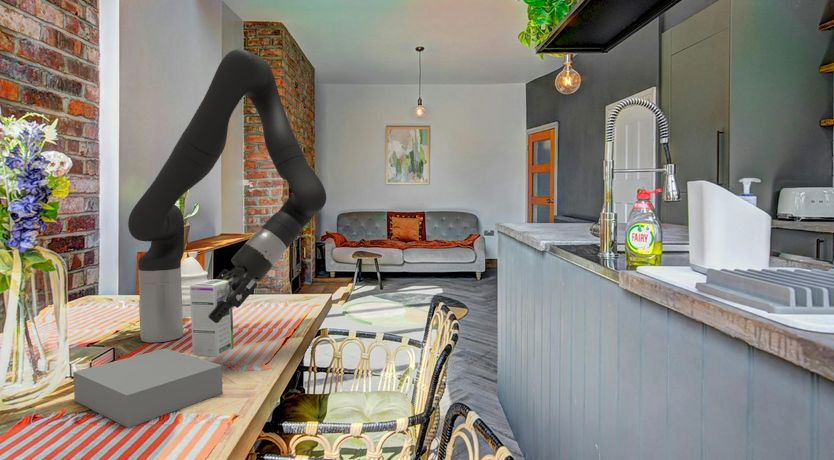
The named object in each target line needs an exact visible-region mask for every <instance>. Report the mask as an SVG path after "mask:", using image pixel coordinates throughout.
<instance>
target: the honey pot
mask: <svg viewBox="0 0 834 460" xmlns="http://www.w3.org/2000/svg"><path fill="white" fill-rule="evenodd" d="M187 254H188V256H189V257H186V258H185V259H184V260H183V261H181V286H182V315H183V318H191V302H190V285H192V284H196V283H199V282H203V281H206V280H209V279H208V277H207V276H208V274H209V272H208V271H206V270H204V269H203V267H202V265H201V264H200V262H199V261H198V260H197V259H196V257H197V256H198V251H188V253H187Z"/></svg>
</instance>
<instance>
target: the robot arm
mask: <svg viewBox="0 0 834 460" xmlns="http://www.w3.org/2000/svg"><path fill="white" fill-rule="evenodd" d="M245 96H247V98H249V99H248V100H250V101H251V103H252V104H253V106H254V108H255V109H256V112H257V113H258V116H259V118H260V122H261V125H262V131H263V139H264V144H265V148H266V149H267V152H268V155H269V157H270V159H271V161H272V163H273V166H274V168H275V170H276V171H277V174H278V175H279V177H280V179H282V180H285V181H286V182H287V184H288V186H289V188H290V190H291V192H292V194H291V195H290V196H289V198H288V199H287V200H286V201H285V203H283V205H282V206H281V208H279V210H278V211H277V212H275V213H274V214H273V215H272V216H270V217H269V219H267V220H266V222H265V223H264V224H263V225H262V226H261V228H259V229H258V230H257V231H256V232H254V234H253V235H252V236H250V238H249V239H248V240H247V241H246V242H245V243H244V244H243V245H242V246H241V248H240V249H239V250H238V251H237V252H236V253H235V255H233V257H231V259H230V260H231V263H232V265H233V266H234V267H233V268H232V269H231V270H228V269H226V268H224V269H223V270H222V271H220V273H219V274H218V275H217V276H216V277H215V278H214V279H221V280H228V281H229V282H228V284H227V286H226V288H225V290H224V292H225V296H224V298H223V300H222V301H223V302H220V303H219V304H218V305H217V306H216V308H215V309H214V310H213V311H212V312H211V313H210V314H209V316H208V317H209V318H210V319H211V320H212V321H213V322H215V323H218V322H219V321H220V320H221V319H222V318H223V316H224V315H225V314H226V313H227V312H228V311H229V310H230V308H231V309H232V310H233V309H234V308H240V307H241V305H242V304H244V302H245V301H246V300H247V299H248V297H249V296H250V295H251V294H252V293H253V291H254V290H255V289H256V288H257V287H258V283H257V282H259V283H260V282H261V281H262V280H263V279H264V278H265V276H266V275H267V274H268V273H269V271H271V269H273V267H274V266H275V265H276V263H277V262H279V260H280V258H281V257H282V256H283V254H284V253H285V251H286V250H287V249H288V248H289V247H290V246H291V244H292V243H293V242H294V241H295V239H296V238H297V237H298V236H299V234H300V232H301V231H302V229H303V228H304V227H305V226H306V225H307V224H308V223H309V222H310V221H311V220H312V219H313V218H314V216H316V214H318V213H319V212H320V211H321V210H322V209H323V208H324V207H325V205H326V203H327V193H326V189H325V187H324V184H323V183H322V181H321V180H320V178H319V176H318V175H317V174H316V172H315V170H313V168H312V167H311V166H310V164H309V163H308V161H307V158H306V157H305V154H304V152H303V150H302V147H301V145H300V144H299V142H298V139H297V138H296V135H295V133H294V131H293V128H292V126H291V124H290V122H289V119H288V117H287V114H286V111H285V108H284V105H283V102H282V99H281V96H280V92H279V89H278V86H277V81H276V78H275V75H274V72H273V70H272V67H271V65H270V64H269V63H268V62H267V61H266V60H265V59H264V58H262V57H261V56H259V55H257V54H254V53H253V52H251V51H248V50H246V49H243V48H236V49H233V50H231V51H229V52H228V53H227V54H225V55H224V57H223V58H222V60H221V61H220V63H219V65H218V67H217V68H216V71H215V73H214V75H213V77H212V80H211V83H210V84H209V87H208V88H207V91H206V93H205V95H204V98H203V99H202V100H201V102H200V104H199V106H198V108H197V109H196V111H195V112H194V115H193V116H192V118H191V120H190V122H189V123H188V124H187V126H186V128H185V129H184V131H183V132H182V134H181V135H180V137H179V139H178V140H177V142H176V143H175V146H174V148H173V149H172V152H171V153H170V155H169V156H168V159H166V161H165V163H164V164H163V166H162V167H161V170H160V171H159V173H158V174H157V175H156V177H155V179H154V180H153V181H152V183H151V184H150V186H149V187H148V189H147V190H146V191H145V192H144V193H143V195H142V196H141V197H140V198H139V200H138V201H137V202H136V204H135V205H134V206H133V208H132V209H131V212H130V214H129V217H128V221H127V222H128V223H127V225H128V226H127V228H128V231H129V234H130V236H131V237H132V238H133V239H135V240H138V241H141V242H150V247H149V248H148V250H147V251H146V252H145V253H144V254H143V255H141V256H140V257H139V258H138V261H137V263H138V265H137V268H138V269H137V270H138V286H139V287H138V288H139V289H138V290H139V291H138V292H139V300H138V309H139V310H138V312H139V331H140V334H139V337H140V340H141V341H142V342H144V343H162V342H163V343H164V342H170V341H174V340H177V339H180V338H182V337H184V325H183V324H184V321H183V318H184V317H183V315H182V286H181V263H182V259H183V256H184V253H185V219H184V215H183V212H182V210H181V209H180V207H179V206H177V205H176V204H177V202H178V200H179V199H180V198H181V197H182V196H183V195H185V194H186V192H188V191H189V190H190V189H191V188H193V187H194V186H195V185H197V184H198V183H200V182H201V181H202V180H203V179H204V178H205V177H206V176H208V174H210V172H211V171H212V169H213V168H214V167H215V165H216V164H217V162H218V161H219V159H220V157H221V155H222V154H223V151H224V149H225V147H226V143H227V137H228V131H229V123H230V119H231V117H232V115H233V113H234V111H235V109H236V108H237V106H238V105H239V103H240V101H241V100H242V99H243V98H244V97H245Z"/></svg>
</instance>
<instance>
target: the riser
mask: <svg viewBox="0 0 834 460" xmlns="http://www.w3.org/2000/svg"><path fill="white" fill-rule="evenodd" d="M72 373H73V392H74V393H73V395H74V397H73V398H74V402H76V403H78V404H80V405H82V406H84V407H86V408H88V409H90V410H92V411H94V412H95V413H98V414H100V415H102V416H103V417H106V418H107V419H110V420H111V421H114V422H115V423H118V424H119V425H121V426H123V427H125V428H127V429H129V428H130V429H131V428H132V427H135V426H138V425H140V424H143V423H146V422H147V421H152V420H153V419H157V418H159V417H162V416H165V415H167V414H170V413H173V412H175V411H178V410H181V409H184V408H186V407H188V406H192V405H195V404H197V403H199V402H203V401H205V400H208V399H211V398H214V397H216V396H218V395H222V394H224V393H223V365H222V364H219V363H215V362H212V361H208V360H206V359H203V358H199V357H197V356H194V355H189V354H186V353H183V352H179V351H176V350H173V349H170V348H166V347H165V348H162V349H157V350H154V351H150V352H147V353H142V354H139V355H134V356H131V357H126V358H122V359H118V360H115V361H114V360H113V361H110V362H107V363H103V364H99V365H94V366H91V367H87V368H83V369H81V370H80V369H78V370H76V371H73V372H72ZM158 416H159V417H158ZM156 417H157V418H156Z"/></svg>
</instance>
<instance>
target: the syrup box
mask: <svg viewBox="0 0 834 460" xmlns="http://www.w3.org/2000/svg"><path fill="white" fill-rule="evenodd" d="M228 282H229V281H228V280H221V279H215V278H214V279H208V280H206V281H203V282H199V283H196V284H192V285H190V302H191V317H190V321H191V323H190V325H191V343H192V347H191V348H192V356H195V357H204V358H206V357H207V358H219V357H220V356H222V355H224V354H226V353H228V352H229V351H232V350H234V348H235V344H234V343H235V342H234V318H233V317H234V316H233V308H232V309H231V308H230V310H229V311H228V312H227V313H226V314H225V315H224V316H223V318H222V319H221V320H220V321H219V322H218V323H215V322H213V321H212V320H211V319H210V318H209V317H208V316H209V314H210V313H211V312H212V311H213V310H214V309H215V308H216V306H217V305H218V304H219V303H220V302H223V301H222V300H223V298H224V296H225V292H224V290H225V288H226V286H227V284H228Z"/></svg>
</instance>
